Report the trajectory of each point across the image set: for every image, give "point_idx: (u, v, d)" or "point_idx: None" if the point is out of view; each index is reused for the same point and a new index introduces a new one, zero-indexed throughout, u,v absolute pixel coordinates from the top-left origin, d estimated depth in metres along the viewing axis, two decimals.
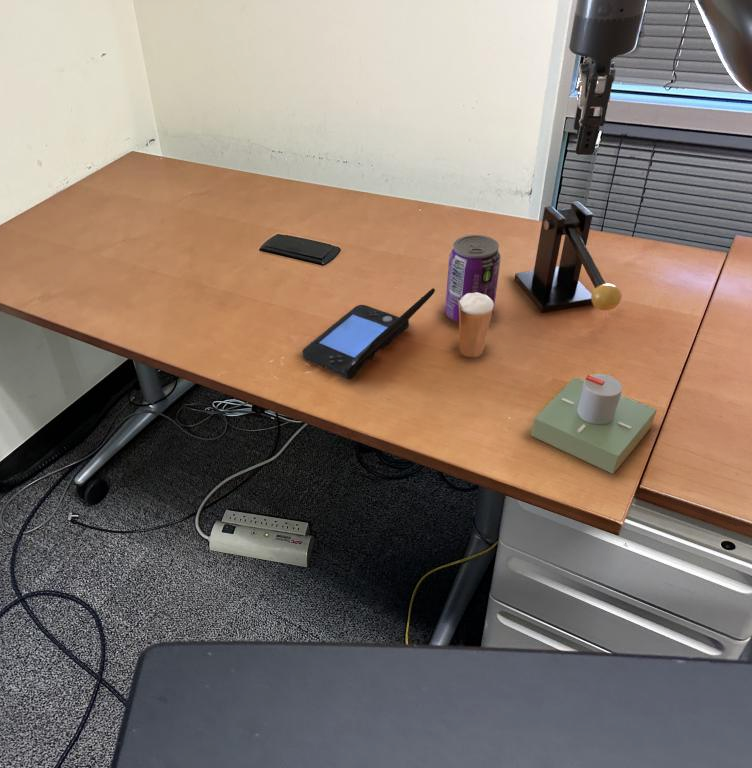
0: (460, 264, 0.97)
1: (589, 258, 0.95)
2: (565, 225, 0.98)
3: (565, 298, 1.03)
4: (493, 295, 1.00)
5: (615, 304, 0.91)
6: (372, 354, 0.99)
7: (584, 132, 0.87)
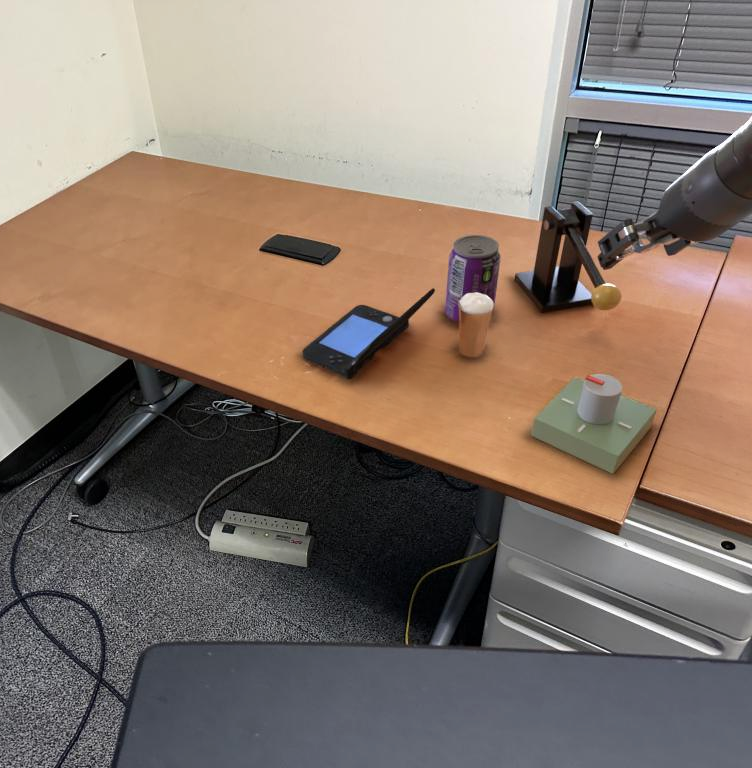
0: (460, 264, 0.97)
1: (589, 258, 0.95)
2: (565, 225, 0.98)
3: (565, 298, 1.03)
4: (493, 295, 1.00)
5: (615, 304, 0.91)
6: (372, 354, 0.99)
7: None
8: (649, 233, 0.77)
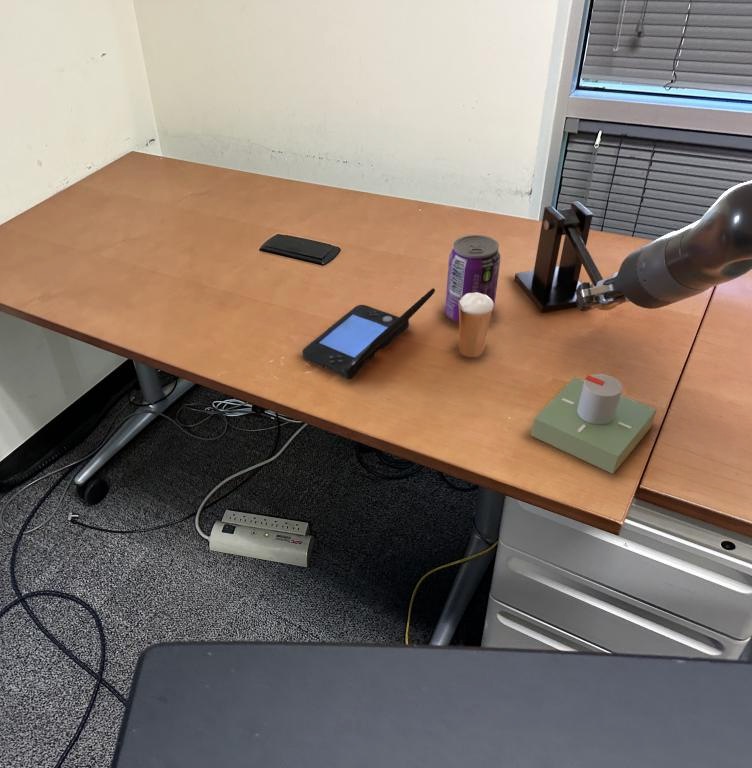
0: (460, 264, 0.97)
1: (589, 258, 0.95)
2: (565, 225, 0.98)
3: (565, 298, 1.03)
4: (493, 295, 1.00)
5: (615, 304, 0.91)
6: (372, 354, 0.99)
7: None
8: (607, 294, 0.85)
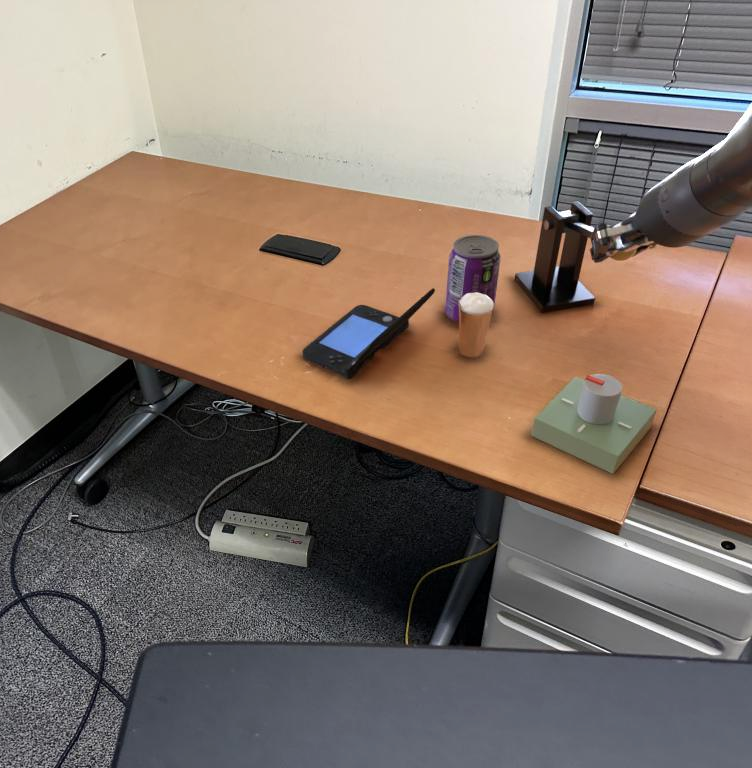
0: (460, 264, 0.97)
1: None
2: None
3: (565, 298, 1.03)
4: (493, 295, 1.00)
5: None
6: (372, 354, 0.99)
7: None
8: (625, 234, 0.79)
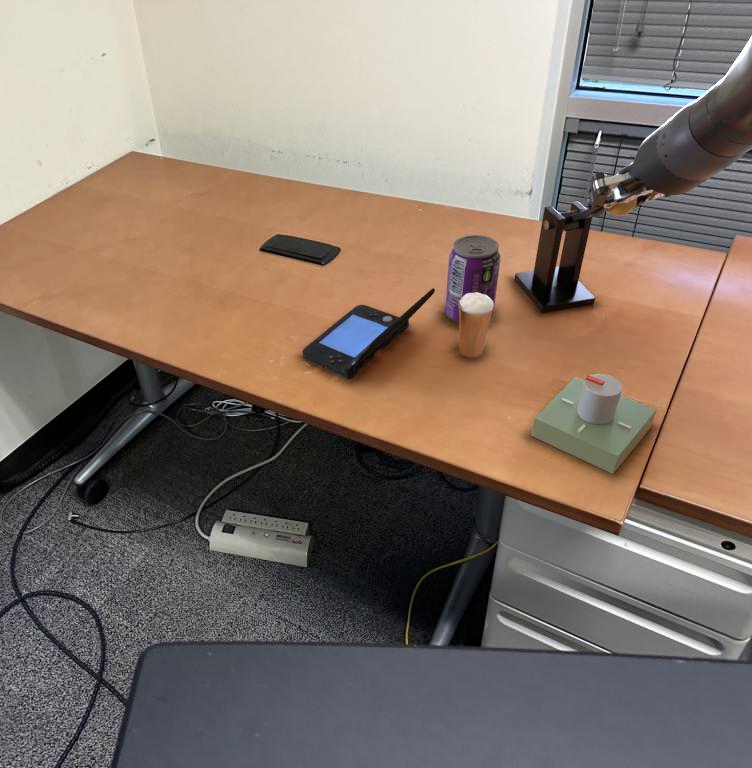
0: (460, 264, 0.97)
1: None
2: (563, 214, 0.98)
3: (565, 298, 1.03)
4: (493, 295, 1.00)
5: None
6: (372, 354, 0.99)
7: None
8: (623, 183, 0.78)
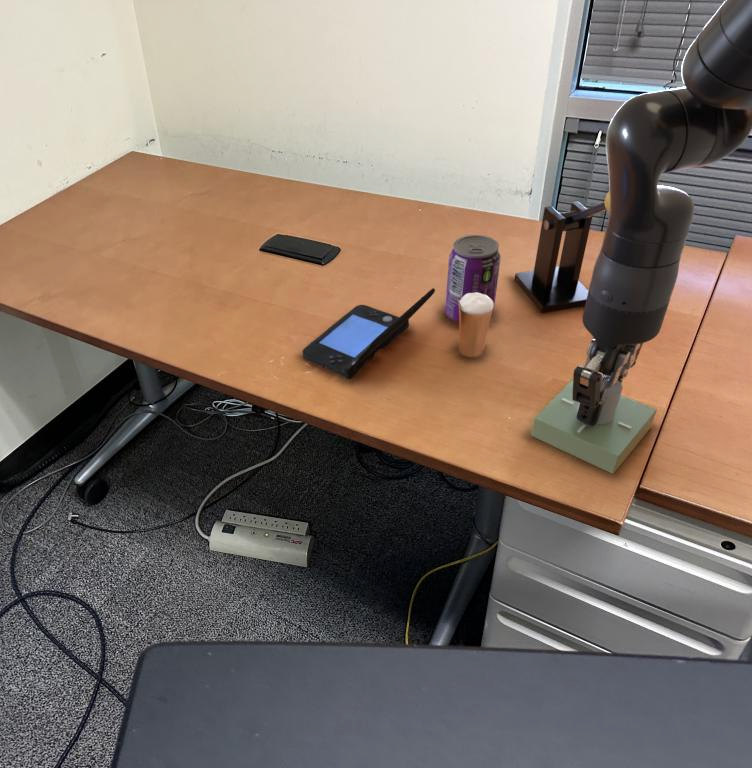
0: (460, 264, 0.97)
1: None
2: (563, 214, 0.98)
3: (565, 298, 1.03)
4: (493, 295, 1.00)
5: None
6: (372, 354, 0.99)
7: (582, 404, 0.78)
8: (605, 360, 0.73)
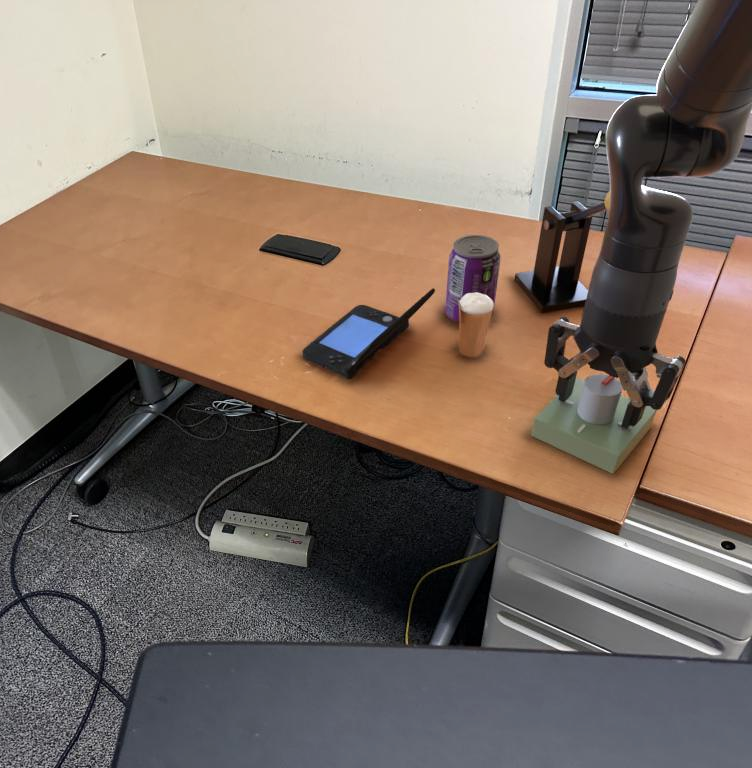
0: (460, 264, 0.97)
1: None
2: (563, 214, 0.98)
3: (565, 298, 1.03)
4: (493, 295, 1.00)
5: None
6: (372, 354, 0.99)
7: None
8: (573, 333, 0.77)
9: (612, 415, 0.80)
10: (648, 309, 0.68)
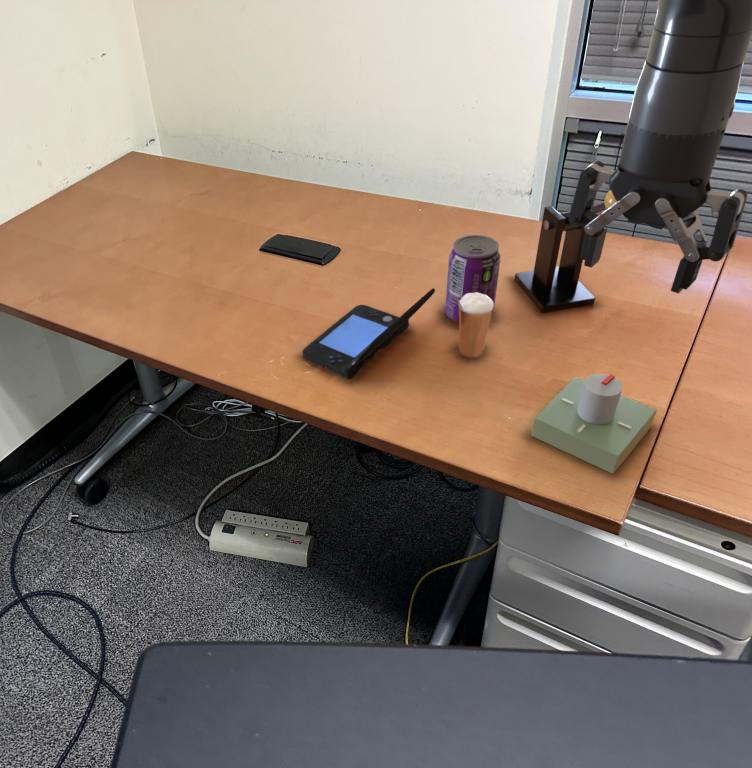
0: (460, 264, 0.97)
1: None
2: (563, 214, 0.98)
3: (565, 298, 1.03)
4: (493, 295, 1.00)
5: None
6: (372, 354, 0.99)
7: None
8: (609, 179, 0.66)
9: (612, 415, 0.80)
10: (704, 125, 0.56)
